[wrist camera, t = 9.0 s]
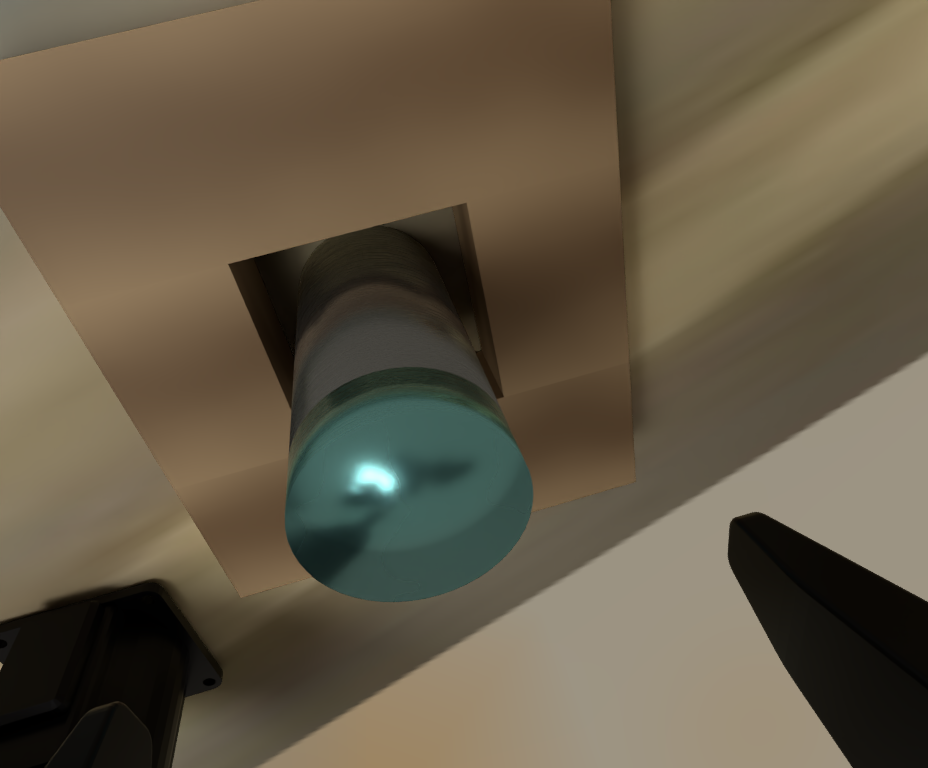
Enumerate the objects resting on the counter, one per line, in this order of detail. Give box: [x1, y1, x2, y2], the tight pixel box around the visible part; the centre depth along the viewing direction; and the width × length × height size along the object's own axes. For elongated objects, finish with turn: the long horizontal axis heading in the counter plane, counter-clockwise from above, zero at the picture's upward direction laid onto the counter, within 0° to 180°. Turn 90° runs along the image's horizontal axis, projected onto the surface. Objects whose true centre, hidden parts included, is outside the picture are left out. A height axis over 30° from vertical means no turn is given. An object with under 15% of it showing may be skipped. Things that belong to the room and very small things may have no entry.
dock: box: [0, 0, 636, 598], centre depth 18 cm, size 16×14×3 cm
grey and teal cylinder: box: [285, 226, 533, 602], centre depth 15 cm, size 4×4×10 cm
